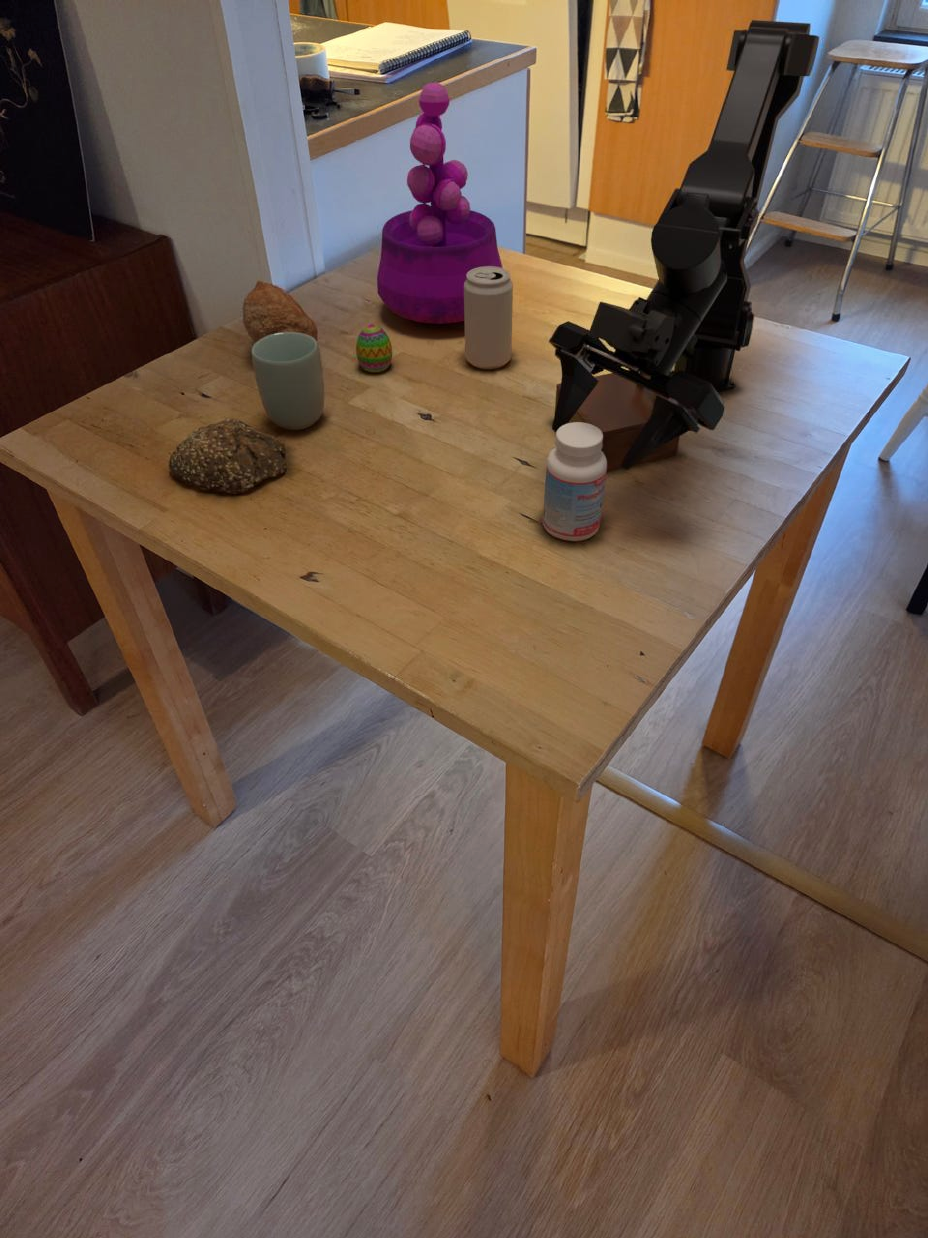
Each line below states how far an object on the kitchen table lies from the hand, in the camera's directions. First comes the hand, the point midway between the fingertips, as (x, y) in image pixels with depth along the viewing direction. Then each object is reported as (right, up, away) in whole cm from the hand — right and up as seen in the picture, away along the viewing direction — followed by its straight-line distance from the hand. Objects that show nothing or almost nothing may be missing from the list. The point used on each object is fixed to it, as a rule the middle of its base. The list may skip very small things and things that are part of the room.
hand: (588, 449), depth 85 cm
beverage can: (-9, +18, +32) cm, 38 cm away
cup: (-33, +8, +22) cm, 40 cm away
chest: (+6, +5, +17) cm, 19 cm away
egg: (-25, +17, +31) cm, 44 cm away
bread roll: (-39, +1, +15) cm, 42 cm away
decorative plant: (-16, +29, +43) cm, 55 cm away
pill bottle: (-1, -7, +6) cm, 9 cm away
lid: (+6, +8, +14) cm, 17 cm away
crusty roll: (-38, +20, +34) cm, 55 cm away
